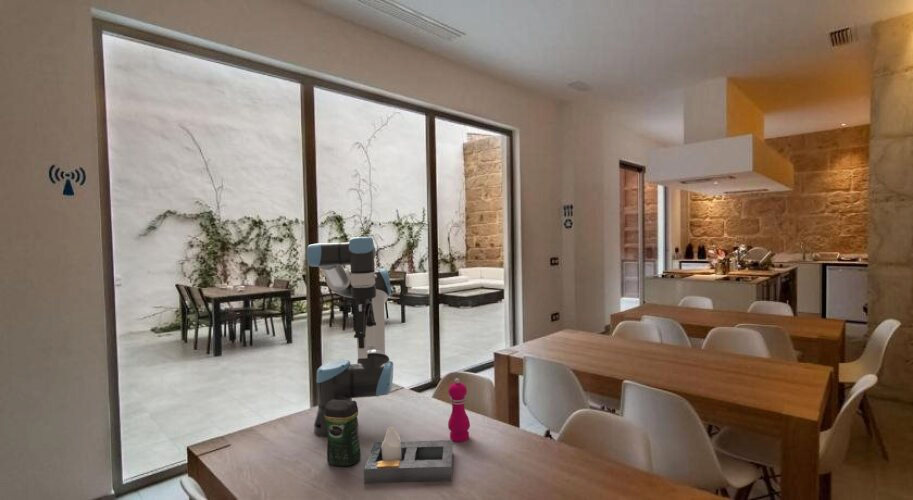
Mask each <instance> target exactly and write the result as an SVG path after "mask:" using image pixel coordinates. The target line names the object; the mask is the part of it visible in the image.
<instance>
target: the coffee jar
mask: <svg viewBox="0 0 913 500" xmlns="http://www.w3.org/2000/svg"><path fill="white" fill-rule="evenodd" d="M358 415H359V408H358V402H357V401H356V400H352V401H346V400H335V399H333V400H331V401H330V402H328V403H327V404H326V406H325V419H326V422H327V430H328V437H327V447H326V449H327V450H326V460H327V461H326V462H327V463H328V464H329V465H331V466H336V467H350V466H353V465H355V464H356V463H358V461H359V460H360V458H361V456H362V455H361V453H362V452H361V445H360V439H359V432H358V427H357V418H358Z"/></svg>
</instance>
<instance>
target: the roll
mask: <svg viewBox="0 0 913 500" xmlns="http://www.w3.org/2000/svg"><path fill="white" fill-rule="evenodd" d="M381 442H382V446H381V448H382V460H383V461H395V460H400V461H402V454H401V442H402V441H401V437H400V435H399V434H398V433H397V432H396V430H395V428H394V427H392V426H388V427H387V430H386V431H385V435H384V438H383V441H381Z"/></svg>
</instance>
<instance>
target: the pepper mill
mask: <svg viewBox="0 0 913 500" xmlns="http://www.w3.org/2000/svg"><path fill="white" fill-rule="evenodd" d="M467 390H468V389H467V386H466V385H465V384H464V383H463V382H461V380H460V379H459V378H458V377H457V378H455V379H454V382H453V383H451V384H450V385H449V387H448V395H449V396H450V403H451V409H452V410H451V414H450V416H449V419H448V422H447V423H448V424H447V426H448V430H449V431H450V432H449V440H452V442H455V443H462V442H465V441H468V440H469V438H470V432H469V429H470V427H471V423H470V419H469V416H468V414H467V413H466V410H465V404H466V401H467V400H466V399H467V398H466V396H467Z"/></svg>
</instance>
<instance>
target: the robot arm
mask: <svg viewBox="0 0 913 500" xmlns="http://www.w3.org/2000/svg"><path fill="white" fill-rule="evenodd" d="M376 255H377V254H376V248H375V246H374V239H373V237H371V236H356V237H351V238H349V240H348V242H328V243H327V242H325V243H324V242H323V243H320V242H319V243H313V244H309V245H308V246H307V248H306V261H307V264H308V266H309V267H316V268H317V267H318V268H320V270H321V273H323V275H324V277H325V278H326V279H325V282H326V285H327V287H328V288H329V289H330V290H331V292H333V293H335V294H337V295H338V296H341V297H345V298H350V299H353V300H358V304H356V305H355V310H356V311H355V312H356V313H355V315H356V316H355V334H354V335H353V338H354V339H356V342H357V343H356V344H357V345H356V347H357V362H356V363H354V364H352V363H351V361H350V359H337V360H332V361H329V362H326V363H324V364H322V365H320V366H319V368H317V370H316V381H315V382H316V391H317V392H316V393H317V406H318V407H317V413H316V416H315V420H314V423H313V430H314V434H316V435H318V436H319V437H323V438H324V437H326V438H328V430H327V422H326V419H325V406H326V404H327V403H328V402H330V401H331V400H333V399H335V400H346V401H353V399H355V398H356V399H357V398H370V397H377V398H379V397H380V396H387V395H389V394H390V393H391V392H392V387H393V380H394V362H393V361H391V360H390V357H389V355H387V354H386V336H385V333H386V332H385V331H386V330H385V323H386V321H385V303H386V302H387V301H388V299H389V297H390V296H392V286H391V280H390V274H389V271H388V270H387V269H386V268H378V267H376V268H375V258H376ZM344 266H350V269H347V268H345V267H344ZM358 426H359V419H358V417H357V428H358Z"/></svg>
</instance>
